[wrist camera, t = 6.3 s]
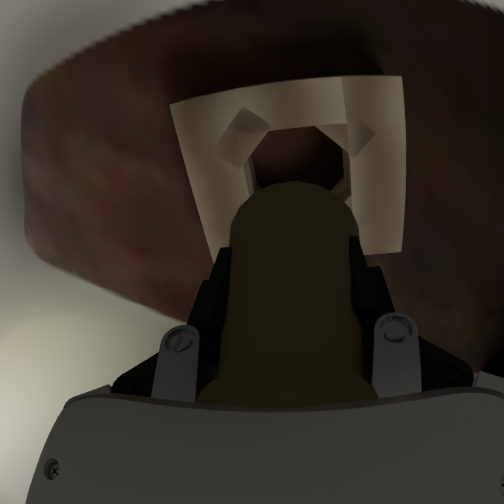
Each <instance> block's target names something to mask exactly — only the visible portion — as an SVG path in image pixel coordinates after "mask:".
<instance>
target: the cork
mask: <svg viewBox="0 0 504 504" xmlns="http://www.w3.org/2000/svg"><path fill="white" fill-rule="evenodd" d="M353 235H357V236H358V238H359V241H360V235H359V227H358V224H357V222H356V219H355V217H354V215H353V212H352V210H351V209H350V208H349V207H348V205H347V204H346V203H345V202H344V201H343V200H342V199H341V198H340V197H339V196H338V195H337V194H335V193H333V192H331V191H329V190H327V189H325V188H323V187H321V186H320V185H316V184H311V183H305V182H299V181H292V182H285V183H277V184H272V185H270V186H268V187H266V188H264V189H262V190H260V191H258V192H256V193H253V194H252V195H251V196H250V197H249V198H248V199H247V200H246V201H245V202H244V203H243V204H242V205H241V206H240V207H239V208H238V211H237V213H236V215H235V217H234V219H233V221H232V223H231V228H230V238H229V247H232V254H231V264H230V283H229V289H228V296H227V303H226V310H225V317H224V324H223V328H222V330H221V343H220V357H219V371H218V377H217V378H216V379H215V380H213V381H212V382H210V383H209V384H208V385H206V386H205V387H204V389H203V390H202V392H201V393H200V394H199V396H198V397H197V399H196V401H195V402H199V403H213V404H229V405H235V406H241V407H247V408H299V407H307V406H314V405H321V404H328V403H339V402H351V401H360V400H369V399H377V398H379V396H378V394H377V392H376V390H375V389H374V387H373V386H372V385H371V384H370V383H369V382H368V381H366V354H365V351H364V348H363V344H362V327H361V324H360V319H359V318H358V317H357V316H356V315H355V313H354V312H353V309H352V301H351V270H352V268H351V263H350V258H349V236H353Z"/></svg>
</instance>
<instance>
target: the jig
mask: <svg viewBox="0 0 504 504" xmlns="http://www.w3.org/2000/svg"><path fill="white" fill-rule="evenodd" d="M170 109H171V113H172V117H173V121H174V125H175V128H176V132H177V136H178V140H179V144H180V147H181V151H182V155H183V159H184V162H185V166H186V170H187V173H188V177H189V180H190V184H191V187H192V191H193V195H194V198H195V202H196V205H197V208H198V212H199V215H200V219H201V222H202V225H203V229H204V232H205V236H206V239H207V242H208V245H209V249H210V252H211V255H212V259H213V262H214V263H215V260H216V258H217V255H218V252H219V249H220V248H221V247H229V238H230V228H231V223H232V221H233V219H234V217H235V215H236V213H237V211H238V208H239V207H240V206H241V205H242V204H243V203H244V202H245V201H246V200H247V199H248V198H249V197H250V196H251V195H252V194H253V193H256V192H258V191H260V190H262V189H263V188H262V187H260V186H259V185H257V181H256V176H255V170H254V165H253V160H252V155H251V153H252V152H253V151H254V149H255V148H256V147H257V145H258V144H259V143H260V141H261V140H262V139H263V137H264V136H265V135H266V134H267V132H268V131H271V130H279V129H287V128H296V127H306V126H316V127H317V128H318V129H319V130H321V131H322V132H323V133H324V134H326V135H327V136H328V137H329V138H331V139H332V140H333V141H334V142H336V143H337V144H338V145H339V146H341V147H342V157H343V170H344V176H343V178H342V179H341V180H340V181H339V182H338V183H337V184H336V185H335V186H334V187H333V188H332V190H331V192H333V193H335V194H337V195H338V196H339V197H340V198H341V199H342V200H343V201H344V202H345V203H346V204H347V205H348V207H349V208H350V209H351V210H352V212H353V215H354V217H355V219H356V222H357V224H358V227H359V235H360V244H361V247H362V251H363V254H364V255H369V254H381V253H393V252H401V246H402V236H403V224H404V210H405V189H406V132H405V111H404V97H403V86H402V76H393V75H343V76H326V77H313V78H302V79H293V80H284V81H277V82H270V83H263V84H257V85H251V86H245V87H239V88H234V89H229V90H224V91H219V92H214V93H210V94H206V95H201V96H197V97H193V98H189V99H186V100H183V101H180V102H177V103H174V104H171V105H170Z"/></svg>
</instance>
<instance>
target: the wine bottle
mask: <svg viewBox="0 0 504 504" xmlns="http://www.w3.org/2000/svg"><path fill="white" fill-rule="evenodd" d="M484 372H485V373H488V374H492V375H495V376H498V377H502V378H504V353H502V354H501V355H499V356H498V357H497V358H495V359H494V360H493V361H492V362H491V363H490V364H489V365H488V366H487V367H486V369H485V370H484Z"/></svg>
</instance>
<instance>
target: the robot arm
mask: <svg viewBox="0 0 504 504" xmlns="http://www.w3.org/2000/svg"><path fill="white" fill-rule="evenodd" d="M231 254H232V247H221V248H220V249H219V252H218V255H217V258H216V260H215V263H214V266H213V269H212V272H211V274H210V277H209V280H204V281H203V282H202V284H201V287H200V289H199V292H198V295H197V297H196V300H195V303H194V306H193V308H192V311H191V314H190V317H189V319H188V322H187V325H180V326H176V327H174V328H172V329H170V330H169V331H168V332H167V333H166V334H165V335H164V336H163V338H162V341H161V344H160V349H159V352H158V353H156V354H155V355H153V356H152V357H150V358H148V359H147V360H145V361H143V362H142V363H140V364H139V365H137V366H135V367H134V368H132V369H131V370H129V371H127V372H125V373H124V374H122V375H121V376H120V377H118V378H117V379H116V381H115V382H114V383H113V386H110V385H105V386H103V387H100V388H97V389H95V390H92V391H89V392H86V393H83V394H81V395H78V396H75V397H73V398H71V399H69V400H68V401H67V402H66V403H65V405H64V408H63V410H62V412H61V413H60V415H59V416H58V418H57V420H56V422H55V424H54V426H53V427H52V430H51V432H50V434H49V436H48V438H47V441H46V443H45V445H44V448H43V450H42V453H41V455H40V458H39V461H38V464H37V467H36V470H35V473H34V476H33V479H32V482H31V485H30V488H29V492H28V495H27V499H26V504H504V378H502V377H498V376H495V375H492V374H488V373H485V372H482V371H479V372H478V373H474V372H473V371H472V369H471V367H470V366H469V365H468V364H467V363H466V362H464V361H463V360H461V359H459V358H457V357H455V356H454V355H452V354H450V353H448V352H446V351H445V350H443V349H441V348H439V347H437V346H435V345H434V344H432V343H430V342H428V341H426V340H424V339H423V338H421V337H419V336H418V331H417V326H416V323H415V322H414V321H413V319H412V318H410V317H409V316H407V315H405V314H402V313H397V312H395V310H394V307H393V304H392V300H391V297H390V294H389V291H388V288H387V285H386V282H385V279H384V276H383V273H382V270H381V268H380V267H379V266H375V267H367V263H366V260H365V257H364V254H363V251H362V247H361V244H360V241H359V238H358V236H357V235H353V236H349V258H350V263H351V268H352V270H351V301H352V309H353V312H354V313H355V315H356V316H357V317H358V318H359V319H360V324H361V327H362V344H363V348H364V351H365V354H366V381H368V382H369V383H370V384H371V385H372V386H373V387H374V389H375V390H376V392H377V394H378V396H379V398H377V399H369V400H360V401H351V402H339V403H328V404H321V405H314V406H307V407H299V408H247V407H241V406H235V405H229V404H213V403H199V402H195V401H196V399H197V397H198V396H199V394H200V393H201V392H202V390H203V389H204V387H205V386H206V385H208V384H209V383H210V382H212V381H213V380H215V379H216V378H217V377H218V371H219V357H220V343H221V330H222V328H223V324H224V317H225V310H226V303H227V296H228V289H229V283H230V264H231Z"/></svg>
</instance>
